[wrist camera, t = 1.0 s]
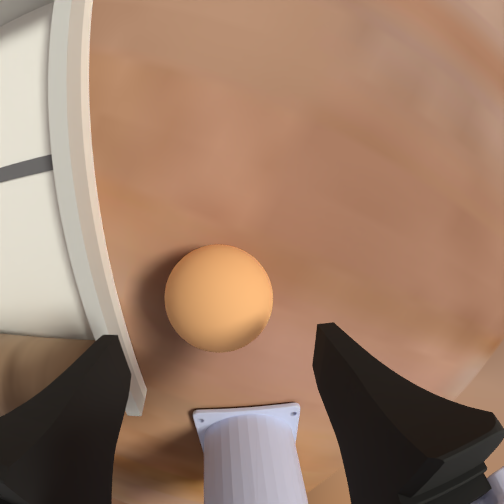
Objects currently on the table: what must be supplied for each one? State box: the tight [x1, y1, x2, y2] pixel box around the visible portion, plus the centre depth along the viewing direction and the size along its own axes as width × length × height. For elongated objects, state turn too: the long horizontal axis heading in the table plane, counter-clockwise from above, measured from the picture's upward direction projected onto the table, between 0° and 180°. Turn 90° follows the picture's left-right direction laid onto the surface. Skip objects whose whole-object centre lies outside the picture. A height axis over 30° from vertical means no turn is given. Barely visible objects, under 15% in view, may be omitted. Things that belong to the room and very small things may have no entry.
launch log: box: [0, 333, 95, 417], centre depth 14 cm, size 6×10×6 cm, turn 92°
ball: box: [165, 244, 273, 352], centre depth 14 cm, size 5×5×5 cm
